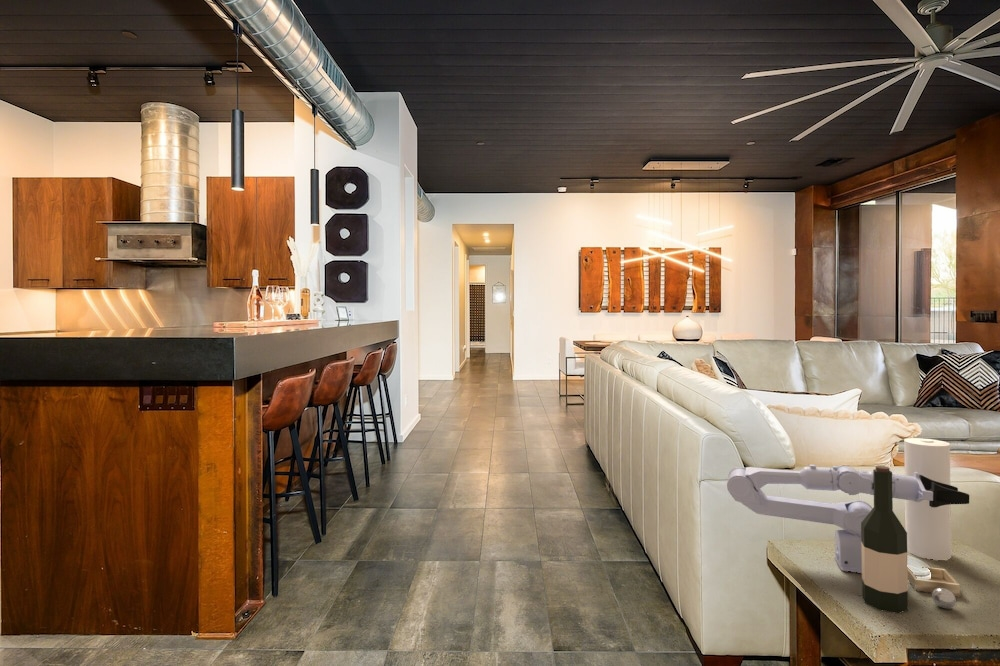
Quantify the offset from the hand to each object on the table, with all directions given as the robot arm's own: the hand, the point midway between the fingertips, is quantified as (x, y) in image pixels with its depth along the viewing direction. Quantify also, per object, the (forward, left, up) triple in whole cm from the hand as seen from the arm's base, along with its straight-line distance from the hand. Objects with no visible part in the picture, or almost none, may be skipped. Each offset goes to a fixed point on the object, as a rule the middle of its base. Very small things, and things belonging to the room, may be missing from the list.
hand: (962, 495), depth 124 cm
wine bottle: (-20, -16, -21) cm, 33 cm away
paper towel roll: (-2, +17, -21) cm, 27 cm away
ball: (-9, -14, -19) cm, 25 cm away
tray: (-8, -4, -21) cm, 22 cm away
